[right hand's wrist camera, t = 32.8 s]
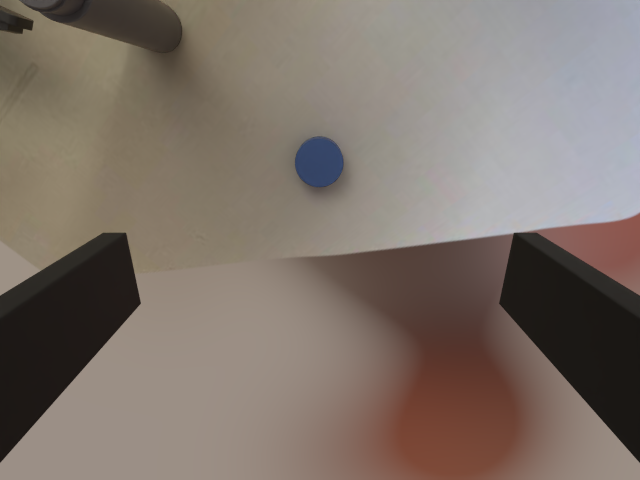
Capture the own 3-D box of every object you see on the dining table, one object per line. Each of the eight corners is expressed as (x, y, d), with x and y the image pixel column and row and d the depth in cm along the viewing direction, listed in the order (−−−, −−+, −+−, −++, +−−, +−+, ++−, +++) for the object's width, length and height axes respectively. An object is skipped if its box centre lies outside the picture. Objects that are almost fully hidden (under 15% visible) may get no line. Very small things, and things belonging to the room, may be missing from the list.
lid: (348, 145, 36) (350, 148, 34) (333, 188, 38) (333, 193, 36) (304, 129, 36) (303, 131, 34) (290, 174, 37) (289, 178, 35)
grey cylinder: (184, 52, 33) (80, 16, 19) (141, 52, 33) (4, 15, 19) (178, 2, 32) (60, -80, 17) (133, 2, 32) (-23, -80, 17)
